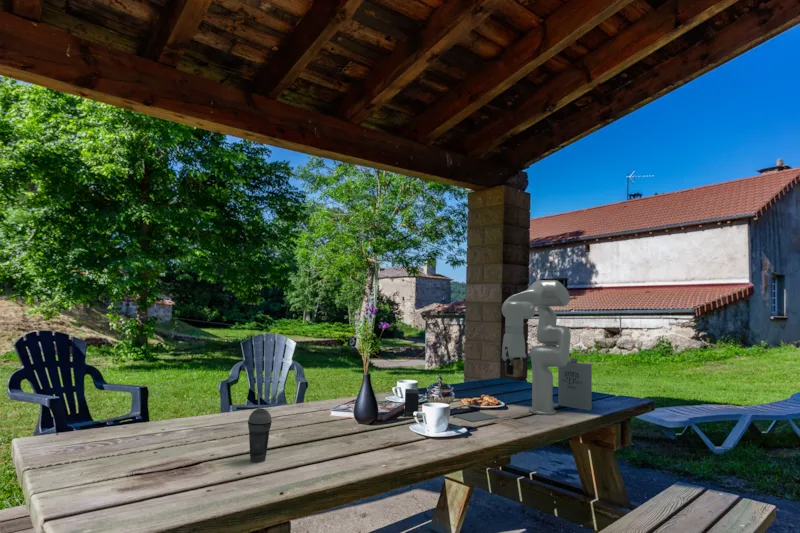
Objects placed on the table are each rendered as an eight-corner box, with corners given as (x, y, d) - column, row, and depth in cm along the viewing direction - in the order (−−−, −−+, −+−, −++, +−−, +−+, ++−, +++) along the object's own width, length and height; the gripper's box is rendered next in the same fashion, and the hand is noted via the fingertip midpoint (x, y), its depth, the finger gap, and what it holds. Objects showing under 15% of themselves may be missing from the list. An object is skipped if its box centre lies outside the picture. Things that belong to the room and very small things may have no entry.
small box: (418, 417, 215) (419, 392, 216) (404, 416, 215) (404, 392, 216) (418, 411, 226) (418, 388, 227) (404, 411, 226) (404, 388, 227)
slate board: (478, 415, 222) (478, 411, 222) (498, 420, 213) (498, 416, 213) (453, 419, 213) (453, 415, 213) (472, 424, 203) (472, 421, 203)
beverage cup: (256, 465, 144) (260, 397, 146) (240, 461, 148) (244, 394, 150) (275, 459, 151) (278, 394, 152) (258, 455, 154) (262, 391, 156)
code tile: (511, 421, 212) (511, 418, 212) (534, 427, 202) (534, 424, 202) (492, 424, 205) (492, 422, 205) (515, 430, 195) (515, 428, 195)
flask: (556, 404, 253) (556, 356, 255) (560, 403, 256) (560, 355, 258) (588, 410, 240) (588, 359, 242) (592, 409, 243) (592, 358, 245)
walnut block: (513, 374, 209) (513, 358, 209) (522, 376, 205) (522, 359, 205) (505, 375, 206) (505, 358, 206) (514, 377, 202) (514, 360, 202)
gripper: (520, 329, 215) (520, 371, 214) (494, 330, 205) (493, 374, 203) (534, 331, 209) (534, 373, 208) (507, 331, 199) (507, 376, 197)
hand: (514, 373), depth 206 cm, fingers closed on walnut block, 5 cm apart
